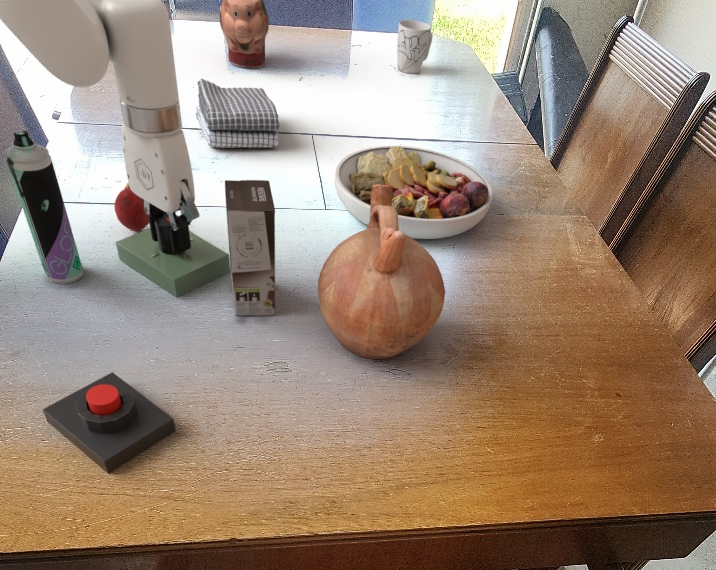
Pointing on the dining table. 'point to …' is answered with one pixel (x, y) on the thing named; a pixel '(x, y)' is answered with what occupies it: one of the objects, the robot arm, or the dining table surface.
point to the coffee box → (251, 245)
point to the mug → (413, 45)
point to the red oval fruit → (131, 210)
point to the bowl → (415, 189)
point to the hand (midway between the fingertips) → (171, 243)
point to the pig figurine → (245, 31)
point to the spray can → (44, 208)
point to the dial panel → (173, 262)
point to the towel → (236, 117)
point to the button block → (110, 424)
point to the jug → (380, 286)
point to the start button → (103, 399)
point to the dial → (164, 233)
